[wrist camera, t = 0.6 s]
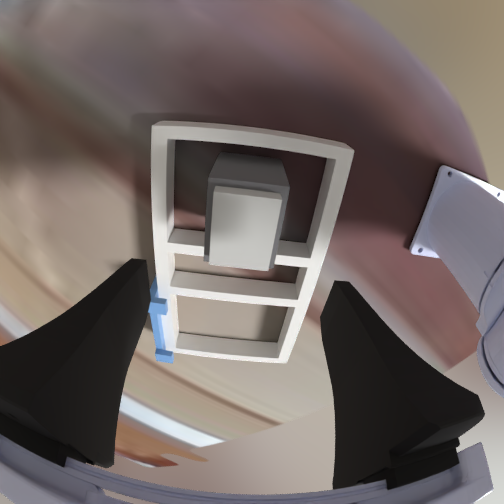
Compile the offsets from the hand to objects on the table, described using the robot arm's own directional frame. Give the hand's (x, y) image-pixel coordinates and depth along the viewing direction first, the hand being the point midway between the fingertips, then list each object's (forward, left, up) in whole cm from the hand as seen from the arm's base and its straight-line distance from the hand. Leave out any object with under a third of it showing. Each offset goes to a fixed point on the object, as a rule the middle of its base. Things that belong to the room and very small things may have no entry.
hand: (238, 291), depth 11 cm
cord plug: (0, 0, -10) cm, 10 cm away
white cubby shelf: (0, +6, -10) cm, 12 cm away
